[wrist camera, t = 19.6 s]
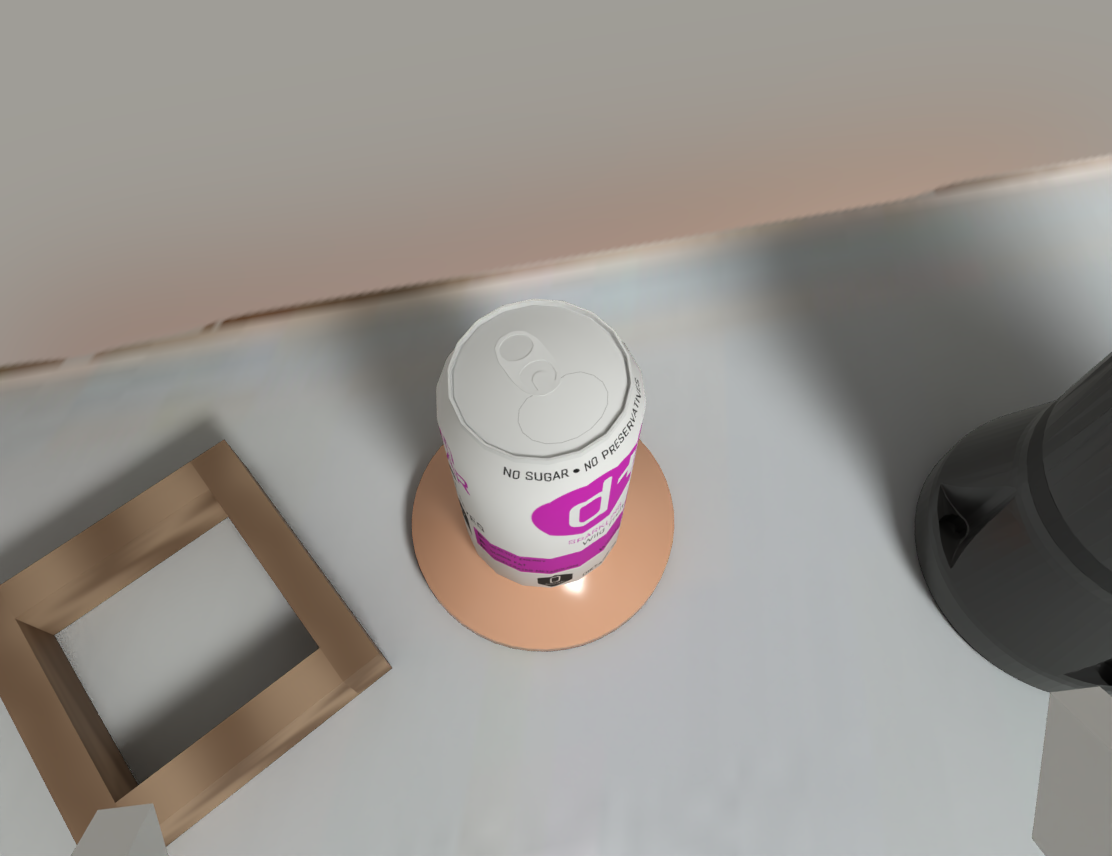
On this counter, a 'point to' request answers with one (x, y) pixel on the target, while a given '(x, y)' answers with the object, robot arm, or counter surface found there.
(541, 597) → the terracotta disc
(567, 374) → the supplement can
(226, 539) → the counter surface
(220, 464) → the walnut collar
